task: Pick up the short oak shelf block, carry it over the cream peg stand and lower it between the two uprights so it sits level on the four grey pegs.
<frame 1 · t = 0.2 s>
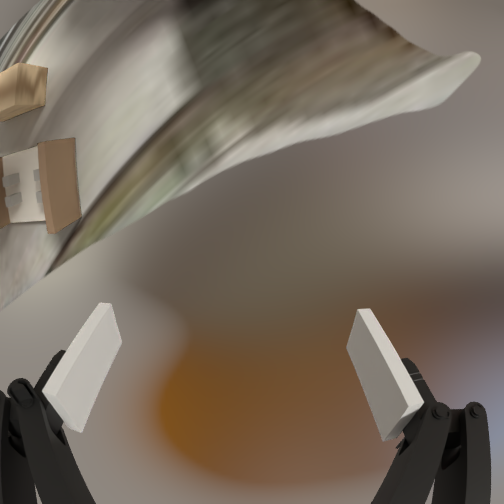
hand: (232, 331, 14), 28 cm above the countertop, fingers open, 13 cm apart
peg stand: (35, 183, 36), on the countertop
shelf block: (23, 95, 30), on the countertop
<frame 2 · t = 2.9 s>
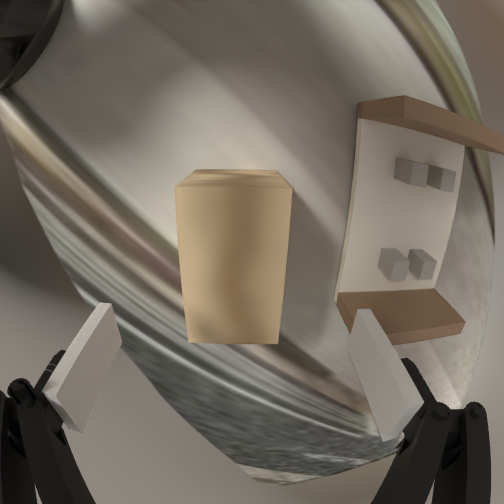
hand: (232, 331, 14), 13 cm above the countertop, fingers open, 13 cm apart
peg stand: (405, 213, 25), on the countertop
shelf block: (235, 234, 26), on the countertop
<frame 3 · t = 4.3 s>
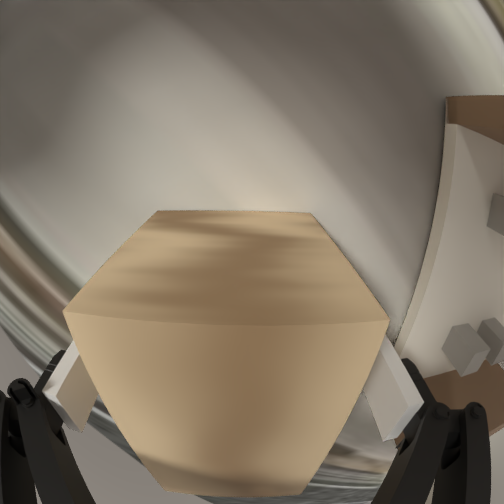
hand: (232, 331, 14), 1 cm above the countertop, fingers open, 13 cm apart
peg stand: (484, 271, 14), on the countertop
shelf block: (233, 320, 15), on the countertop
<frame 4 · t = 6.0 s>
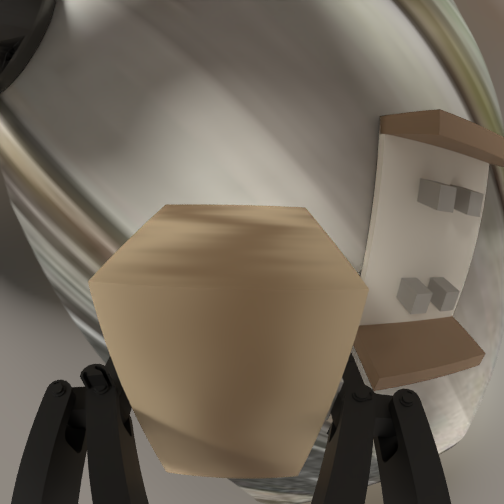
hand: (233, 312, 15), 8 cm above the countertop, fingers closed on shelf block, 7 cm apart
peg stand: (426, 238, 22), on the countertop
shelf block: (233, 308, 16), point 7 cm above the countertop, touching gripper
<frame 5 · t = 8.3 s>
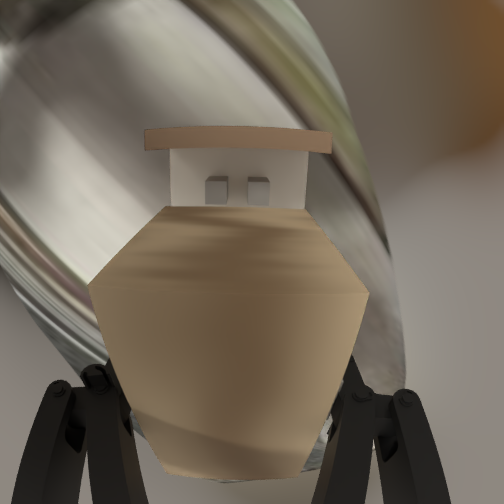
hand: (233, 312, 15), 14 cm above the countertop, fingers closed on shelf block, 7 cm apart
peg stand: (237, 228, 29), on the countertop
shelf block: (233, 309, 16), point 14 cm above the countertop, touching gripper
when the fingers open (5 cm above the countertop, at t = 10.6 s): shelf block stays where it is, resting on peg stand.
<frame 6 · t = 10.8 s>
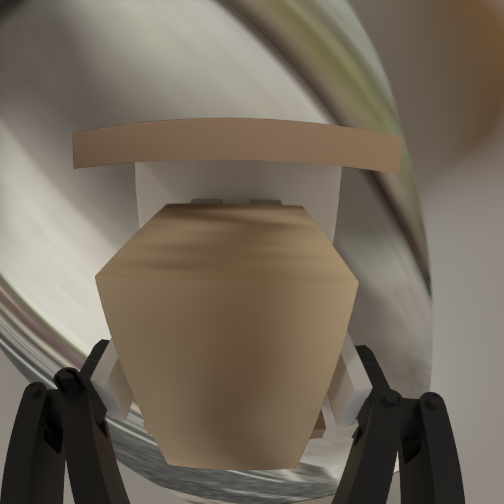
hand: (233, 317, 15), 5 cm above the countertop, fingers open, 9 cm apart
peg stand: (235, 271, 20), on the countertop
shelf block: (233, 303, 16), point 4 cm above the countertop, touching peg stand
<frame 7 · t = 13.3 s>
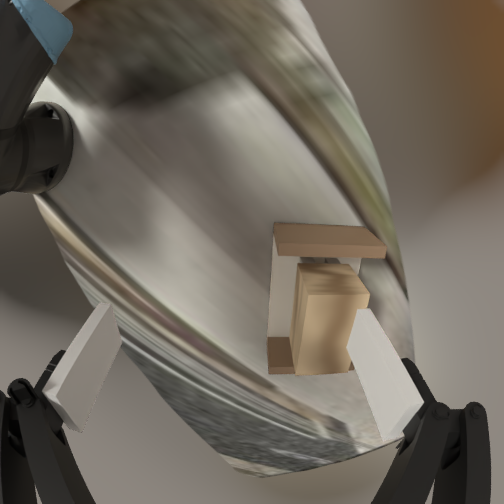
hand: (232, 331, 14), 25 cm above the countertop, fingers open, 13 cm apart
peg stand: (313, 288, 41), on the countertop
shelf block: (318, 303, 38), point 4 cm above the countertop, touching peg stand
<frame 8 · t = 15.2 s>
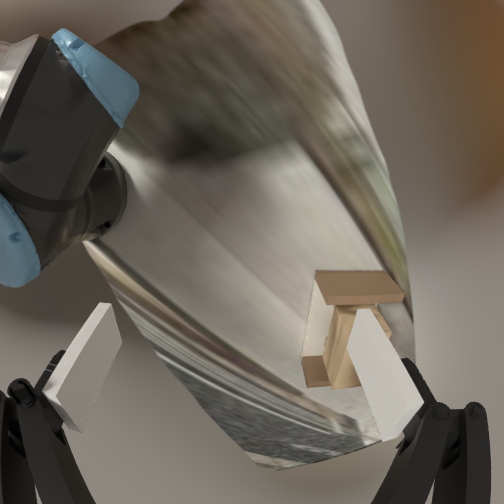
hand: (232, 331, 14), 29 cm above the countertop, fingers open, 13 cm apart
peg stand: (341, 318, 49), on the countertop
shelf block: (347, 331, 46), point 4 cm above the countertop, touching peg stand
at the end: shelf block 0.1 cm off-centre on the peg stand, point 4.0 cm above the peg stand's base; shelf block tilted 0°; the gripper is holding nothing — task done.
